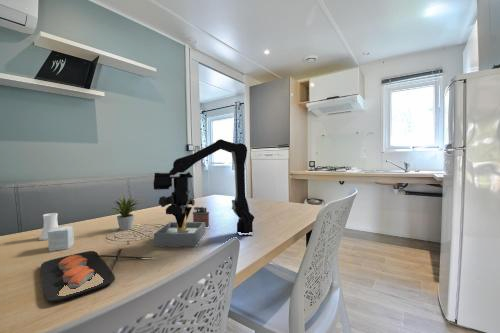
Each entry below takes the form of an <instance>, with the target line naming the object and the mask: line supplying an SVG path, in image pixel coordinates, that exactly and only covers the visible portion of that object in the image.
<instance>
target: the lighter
mask: <svg viewBox="0 0 500 333" xmlns="http://www.w3.org/2000/svg"><path fill="white" fill-rule="evenodd" d="M207 210H208V209H207V207H204V206H195V207H193V212H192V222H205V227H208V226H209V227H210V211H207Z"/></svg>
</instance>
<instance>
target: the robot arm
mask: <svg viewBox="0 0 500 333" xmlns="http://www.w3.org/2000/svg"><path fill="white" fill-rule="evenodd" d="M220 150H222V151H225V152H227V153H231V157H232V161H233V163H234V164H233V165H234V178H235V180H234V181H235V198H234V199H232V200H231V203H232V204H231V205H232V206H231V209H232V211H233V212H234V214H235V215H236V217H238V220H237V223H236V233H237V232H241V233H249V232H253V233H254V229H253V224H254V223H253V222H254V221H255V216H254V215H253V214H252V213H251V212H250V209H249V203H248V201H247V197H246V196H247V195H246V177H245V176H246V175H245V169H246V168H245V163H246V160H247V155H248V147H247V145H245V144H244V143H242V142H239V143H235V142H231V141H227V140H224V139H221V138H220V139H218V140H216V141H215V142H213V143H211V144H209V145H207V146H205V147H203V148H202V149H200V150H197V151H196V152H194V153H191V154H188V155H186V156H182V157H179V158H176V159H175V160H174V161H173V163H172V168H171V170H169V172H154V177H153V178H154V179H153V190H154V191H157V190H159V191H160V190H170V188H172V187H173V191H172V192H171V194H170V195H169V196H165V195H163V196H160V197H159V199H158V205H160V206H161V208H164V207H166V206H167V207H166V209H165V215H173V216H174V218H175V220H176V221H175V222H177V224H178V227H179V228H182V225H183V222H184V219H185V216H186V221H188V218H189V215H190V213H191V210H192V209H193V206H195V204H196V203H195V199H194V198H192V197H191V198H190V197H189V194H190V193H191V190H189V179H191V178H192V179H193V178H194V177H193V175H192V174H191V172H190V171H187V170H188V169H190V168H191V167H192V166H194V165H195V164H196V163H197V162H199V161H202V160H203V159H204V158H207V157H209V156H210V155H212V154H215V153H216V152H218V151H220ZM186 171H187V173H185V172H186ZM178 173H179V175H178ZM175 175H176V176H175Z"/></svg>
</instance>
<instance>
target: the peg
mask: <svg viewBox="0 0 500 333" xmlns="http://www.w3.org/2000/svg"><path fill="white" fill-rule="evenodd" d="M186 222H187V220H186V216H185V219H184V222H183V225H182V228H179V227H178V224H177V230H178V231H183V230H186Z"/></svg>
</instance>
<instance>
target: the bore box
mask: <svg viewBox="0 0 500 333" xmlns="http://www.w3.org/2000/svg"><path fill="white" fill-rule="evenodd" d="M204 233H205V234H206V228H205V222H193V221H186V230H183V231H178V230H177V221H169V222H168V223H166V224H165V225H164V226H162V227H161V228H160V229H159V230H157V231H156V232H154V233H153V245H154V246H196V245H197V244H198V245H199V243H200V242H201V240H202V239H203V237H204V236H205V234H204ZM203 235H204V236H203ZM202 236H203V237H202ZM201 238H202V239H201ZM200 239H201V240H200ZM199 241H200V242H199ZM198 242H199V243H198ZM198 245H197V246H198ZM154 246H153V247H154ZM197 246H196V247H197Z"/></svg>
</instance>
